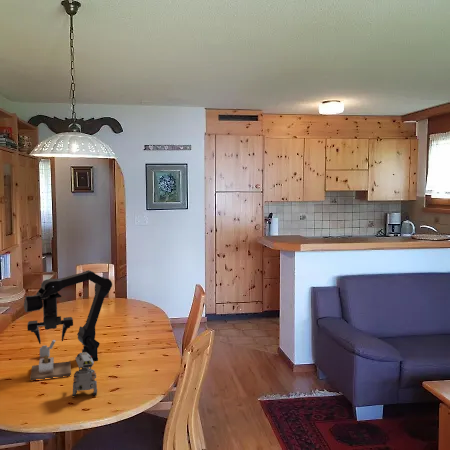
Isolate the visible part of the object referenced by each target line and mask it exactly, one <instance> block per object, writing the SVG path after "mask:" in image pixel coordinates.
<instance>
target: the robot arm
mask: <svg viewBox="0 0 450 450" xmlns="http://www.w3.org/2000/svg"><path fill="white" fill-rule="evenodd" d="M87 281H91V282H92V283H94V284H95V285H94V296H93V300H92V303H91V306H90V308H89V312H88V314H87V315H88V316H87V318H86V320H85V323H84V325H83V326H79V328H78V332H77V334H76V335H77V340H78V342H80V343H81V344H82V348H83V349H81V353H82V352H87V353H88V354H89V355H90V356H92V358H93V361H94V362H95V361H98V360H99V357H98V353H99V352H98V348H99V347H100V345H101V343H100V342H98V340H96V325H97V322H98V320H99V317H100V313H101V310H102V306H103V304H104V300H105V298H106V296H107V295H109V292H110V291H111V289H112V287H113V281H112V280H111V279H110V278H108V277H104V276H101V275H99V274H96V273H95V272H94V271H92V270H86V271H81V272H79V273H76V274H71V275H68V276H65V277H60V278H49V279H45V280H42V283H41V286H40V288H39V290H38V291H37V292H36V293H35V295H26V296H25V297H24V302H23V309H24V312H25V313H30V312H36V311H40V310H41V309H43V311H42V314H43V318H42V319H43V320H42V321H41V322H40V321H39V322H38V320H30V321H28V322H27V325H26V326H27V331H28V332H30V333H33V334H34V335H35V337H36V338H37V341H38V343H39V345H41V344H42V343H41V341H42V340H41V334H40V328H44V329H45V330H46V331H47V330H52V329H53V330H56V329H57V327H58V326H60V325H62V329H61V342H63V341H64V339H65V335H66V332H67V330H68V329H70V328H71V327H73V326H74V319H73V317H72V316H68V317H67V316H66V317H63V319H62V316H60V315H59V316H58V298H62V295H61V294H60V293H59V292H60V291H62V290H63V289H65V288H67V287H70V286H74V285H77V284H80V283H83V282H87Z"/></svg>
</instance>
